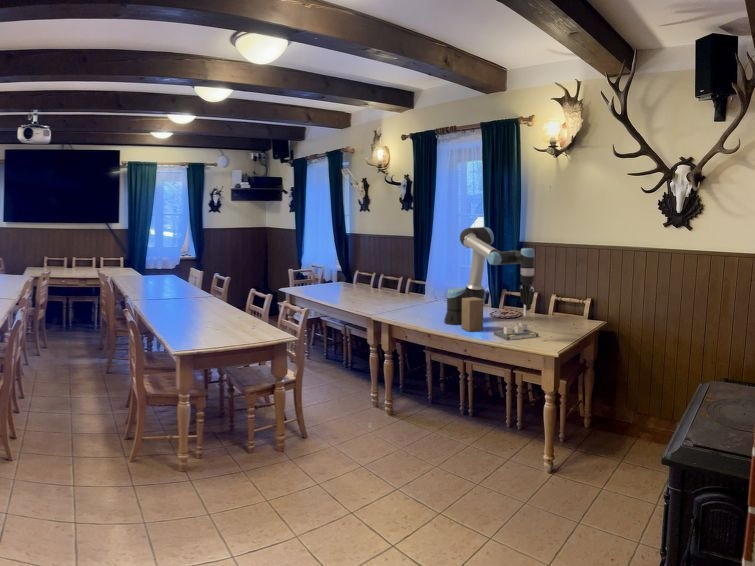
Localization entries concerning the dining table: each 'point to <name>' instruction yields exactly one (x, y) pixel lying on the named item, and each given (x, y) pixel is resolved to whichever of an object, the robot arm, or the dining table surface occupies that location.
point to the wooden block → (472, 314)
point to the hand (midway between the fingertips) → (526, 315)
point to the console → (516, 335)
